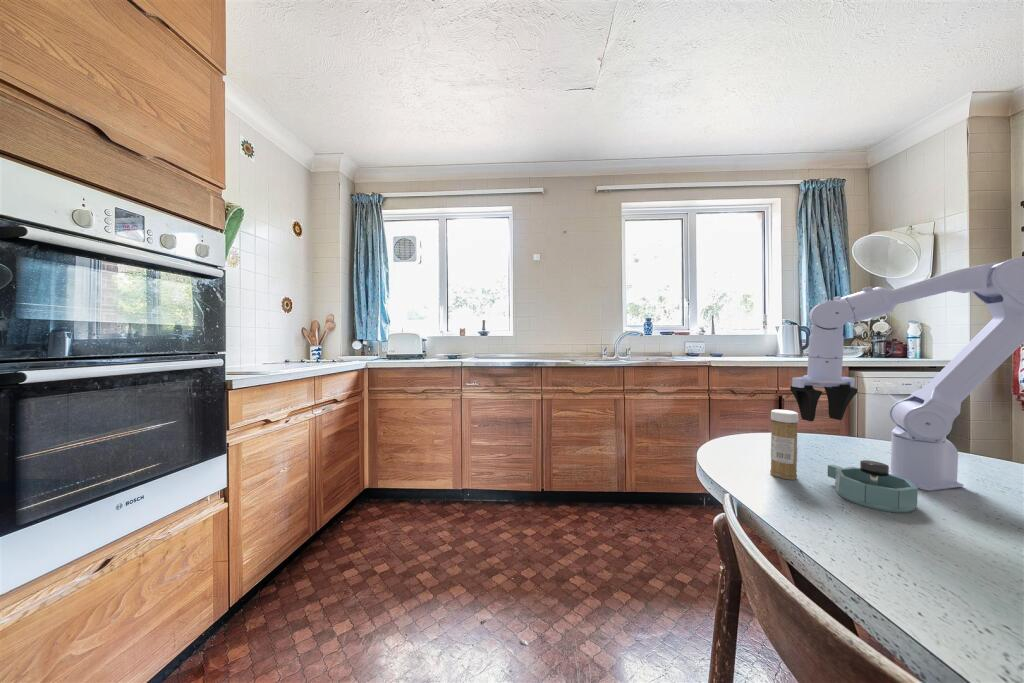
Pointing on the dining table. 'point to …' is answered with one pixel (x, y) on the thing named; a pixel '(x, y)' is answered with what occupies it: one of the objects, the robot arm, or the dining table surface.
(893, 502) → the teal tabbed tray
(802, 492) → the dining table surface
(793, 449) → the sprinkles bottle
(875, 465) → the doorknob
